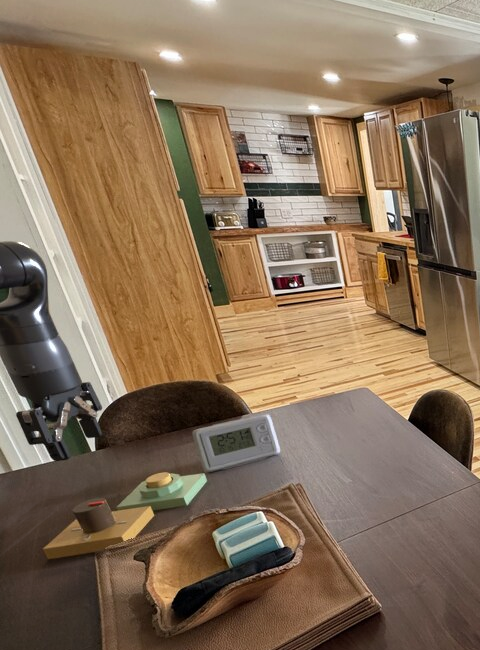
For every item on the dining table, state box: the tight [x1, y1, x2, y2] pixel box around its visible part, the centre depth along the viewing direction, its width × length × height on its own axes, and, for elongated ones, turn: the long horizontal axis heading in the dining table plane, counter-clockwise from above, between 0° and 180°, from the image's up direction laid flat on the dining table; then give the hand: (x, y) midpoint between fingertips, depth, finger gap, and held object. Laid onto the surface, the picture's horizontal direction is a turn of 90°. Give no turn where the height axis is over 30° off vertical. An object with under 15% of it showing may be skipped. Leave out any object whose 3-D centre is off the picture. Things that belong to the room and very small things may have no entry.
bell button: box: [145, 471, 172, 489], centre depth 105 cm, size 4×4×2 cm
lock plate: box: [42, 506, 155, 560], centre depth 94 cm, size 12×10×3 cm
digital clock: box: [191, 413, 281, 473], centre depth 119 cm, size 16×9×11 cm, turn 116°
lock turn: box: [72, 497, 116, 533], centre depth 92 cm, size 5×5×5 cm
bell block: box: [115, 473, 208, 512], centre depth 106 cm, size 12×10×4 cm
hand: (79, 447), depth 86 cm, fingers open, 8 cm apart
